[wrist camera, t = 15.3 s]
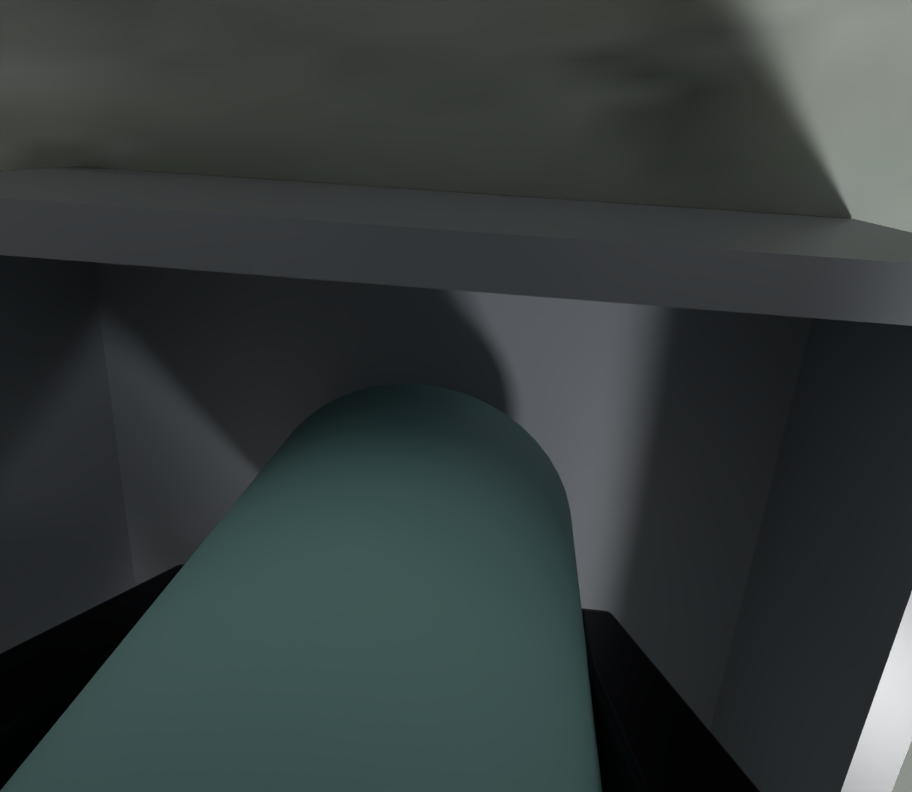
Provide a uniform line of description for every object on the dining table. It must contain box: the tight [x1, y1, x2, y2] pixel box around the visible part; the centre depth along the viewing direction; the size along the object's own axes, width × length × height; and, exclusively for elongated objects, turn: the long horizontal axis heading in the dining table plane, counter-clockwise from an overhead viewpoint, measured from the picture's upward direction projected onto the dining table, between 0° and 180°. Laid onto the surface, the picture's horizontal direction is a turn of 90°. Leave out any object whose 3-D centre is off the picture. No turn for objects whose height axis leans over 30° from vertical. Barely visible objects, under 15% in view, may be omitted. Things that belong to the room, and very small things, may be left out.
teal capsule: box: [0, 384, 602, 792], centre depth 8 cm, size 5×5×7 cm
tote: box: [0, 167, 912, 792], centre depth 12 cm, size 17×13×5 cm
